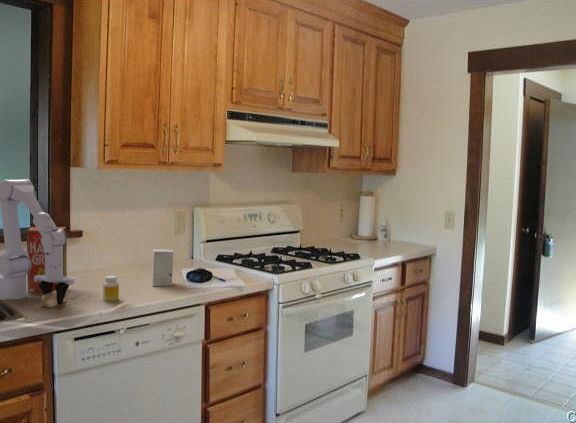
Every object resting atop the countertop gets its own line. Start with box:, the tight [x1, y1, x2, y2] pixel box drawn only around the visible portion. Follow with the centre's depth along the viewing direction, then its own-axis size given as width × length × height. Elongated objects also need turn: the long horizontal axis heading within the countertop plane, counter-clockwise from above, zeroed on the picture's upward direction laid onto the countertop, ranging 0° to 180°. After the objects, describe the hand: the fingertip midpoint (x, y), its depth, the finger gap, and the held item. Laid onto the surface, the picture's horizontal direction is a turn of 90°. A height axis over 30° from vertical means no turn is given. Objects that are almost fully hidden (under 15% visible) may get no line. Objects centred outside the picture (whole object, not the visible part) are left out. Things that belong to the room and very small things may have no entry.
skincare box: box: [151, 248, 174, 287], centre depth 225 cm, size 8×6×15 cm
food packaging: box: [26, 226, 68, 293], centre depth 207 cm, size 13×9×25 cm
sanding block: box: [41, 291, 67, 309], centre depth 187 cm, size 4×8×4 cm, turn 168°
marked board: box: [31, 292, 94, 311], centre depth 192 cm, size 11×20×1 cm, turn 168°
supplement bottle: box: [102, 275, 120, 303], centre depth 195 cm, size 5×5×10 cm
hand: (54, 303), depth 187 cm, fingers closed on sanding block, 4 cm apart
